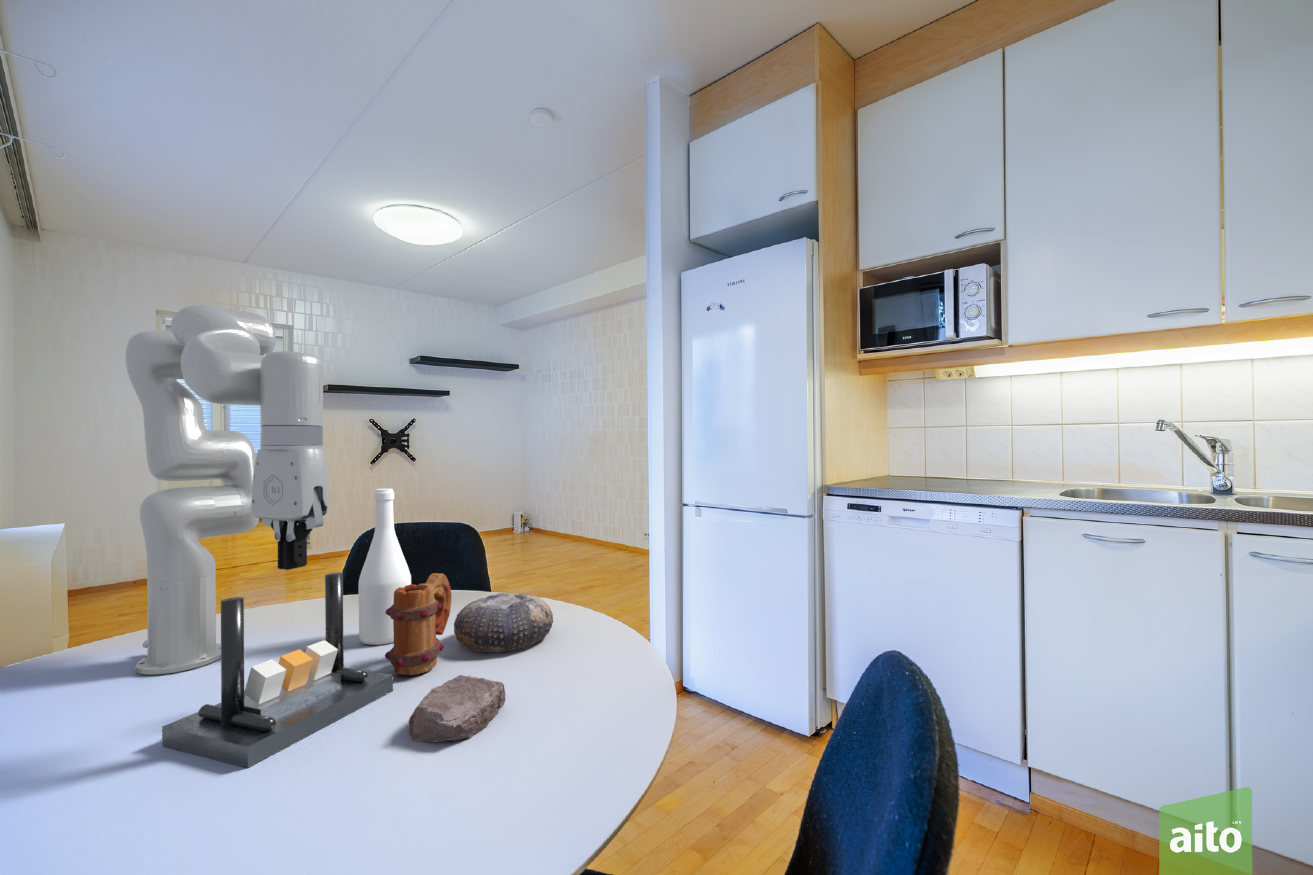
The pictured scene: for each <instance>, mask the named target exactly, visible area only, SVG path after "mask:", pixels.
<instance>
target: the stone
mask: <svg viewBox="0 0 1313 875" xmlns="http://www.w3.org/2000/svg"><path fill="white" fill-rule="evenodd" d="M505 689H506V688H505V684H504V682H502V681H495V680H491V679H486V678H484V677H478V676H470V675H467V676H466V675H464V674H459V675H457V676H456V677H454V678H452V679H449V680H447V681H445V682H443V684H442V685H441V684H440V685H438V686H435V687H433V688H430V691H429V692H428V693H427V694H425V696H424V697H422V700H420V701H419V704H418V705H417V706H416V707H415V709H414V710H413V713H411V716H410V717H409V719H408V725H407V726H408V727H407V728H408V730H407V731H408V732H407V733H408V734H409V737H410V739H411V740H412V741H417V742H418V741H419V742H428V743H442V742H446V741H459V740H463V739H470V738H472V737H473V736H475V735H477V734H478V733H480V732H481V731H483V730H484V729H485V728H487V727H488V726H489V724H490V722H491V720H492V719H494V717H495V716H496V715H497V714H498V713H499V710H500V709H501V708H502V707H504V705H505V703H506V690H505Z"/></svg>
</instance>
